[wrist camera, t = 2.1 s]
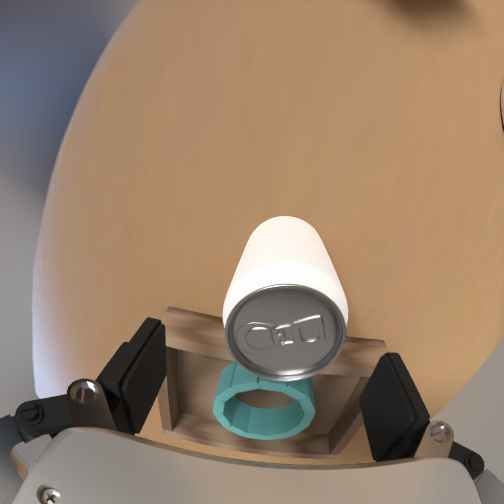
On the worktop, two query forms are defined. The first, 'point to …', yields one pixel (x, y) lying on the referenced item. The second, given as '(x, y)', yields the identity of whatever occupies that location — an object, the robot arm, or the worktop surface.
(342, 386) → the walled box
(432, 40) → the worktop surface
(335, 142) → the worktop surface
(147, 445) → the robot arm
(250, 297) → the can
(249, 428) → the inlet collar
